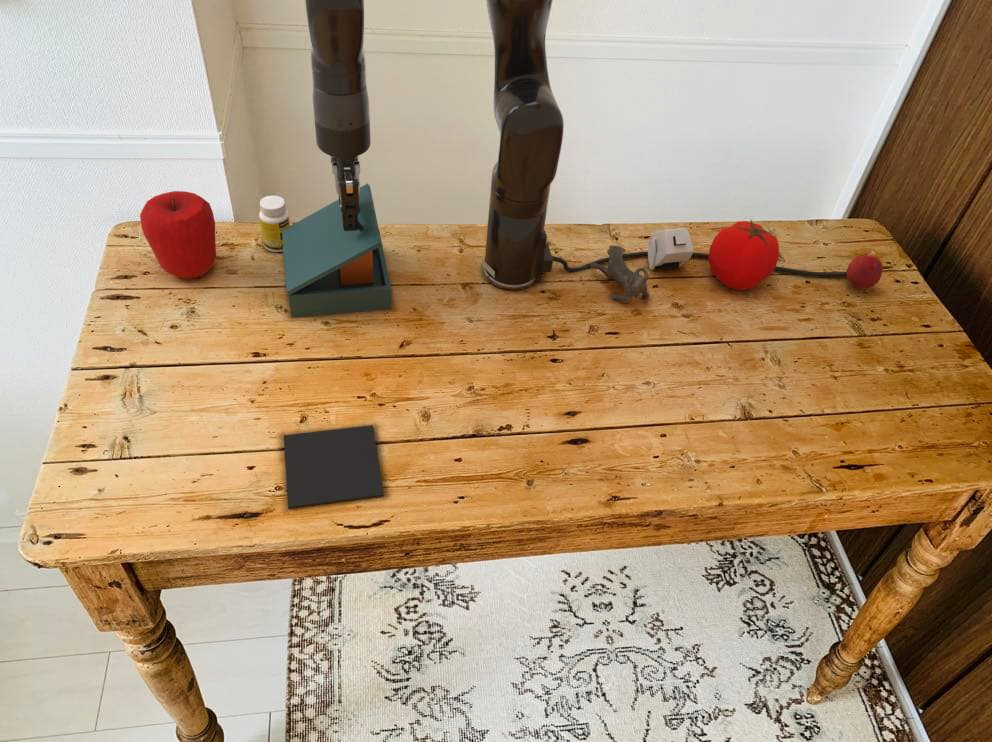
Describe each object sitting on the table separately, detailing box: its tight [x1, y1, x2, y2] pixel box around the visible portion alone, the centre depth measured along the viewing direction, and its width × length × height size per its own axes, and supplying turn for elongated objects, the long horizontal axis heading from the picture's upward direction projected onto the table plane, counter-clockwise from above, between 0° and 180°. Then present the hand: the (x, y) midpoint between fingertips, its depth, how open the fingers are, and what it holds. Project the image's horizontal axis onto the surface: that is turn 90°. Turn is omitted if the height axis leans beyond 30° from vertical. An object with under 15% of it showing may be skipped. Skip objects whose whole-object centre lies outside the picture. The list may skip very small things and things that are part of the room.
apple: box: [139, 190, 217, 280], centre depth 126 cm, size 10×10×14 cm
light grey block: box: [647, 227, 695, 271], centre depth 141 cm, size 6×7×10 cm
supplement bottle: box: [258, 195, 291, 253], centre depth 134 cm, size 5×5×8 cm
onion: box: [846, 250, 884, 290], centre depth 143 cm, size 6×6×8 cm
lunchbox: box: [287, 230, 393, 318], centre depth 131 cm, size 16×16×4 cm
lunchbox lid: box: [282, 183, 383, 295], centre depth 124 cm, size 16×16×5 cm
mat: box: [283, 424, 385, 509], centre depth 107 cm, size 12×12×1 cm
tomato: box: [708, 218, 780, 291], centre depth 140 cm, size 12×12×11 cm
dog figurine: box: [590, 244, 650, 304], centre depth 136 cm, size 12×6×7 cm, turn 30°
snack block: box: [339, 251, 374, 285], centre depth 130 cm, size 5×4×7 cm
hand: (348, 216), depth 124 cm, fingers closed on lunchbox lid, 6 cm apart
